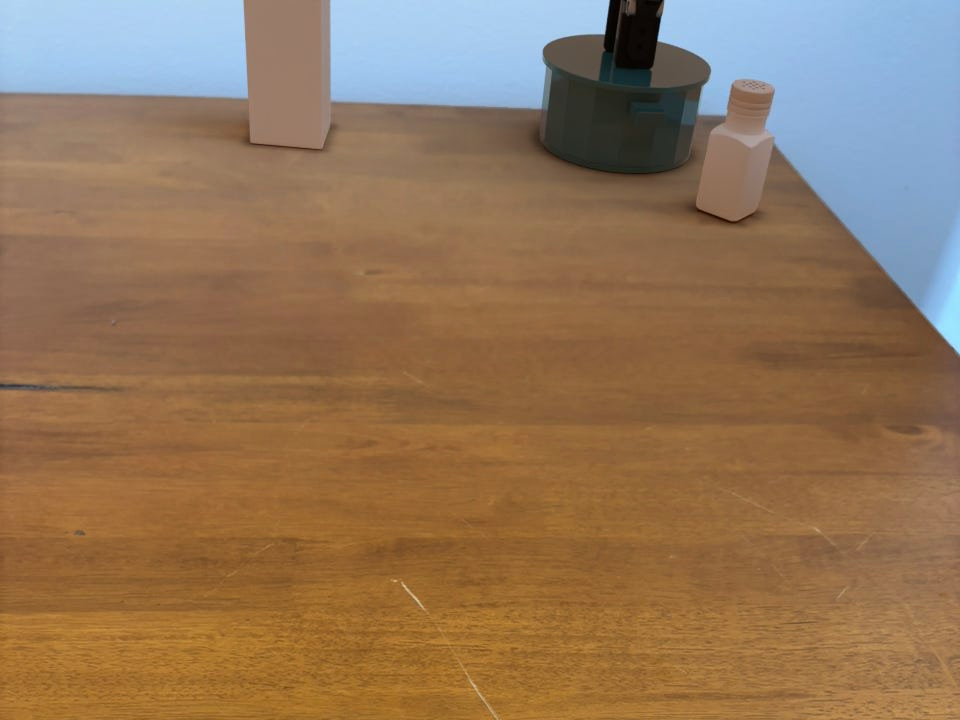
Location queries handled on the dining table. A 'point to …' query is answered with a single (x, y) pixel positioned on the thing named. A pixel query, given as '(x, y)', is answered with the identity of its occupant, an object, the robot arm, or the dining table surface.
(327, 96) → the milk
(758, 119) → the pepper shaker
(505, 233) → the dining table surface
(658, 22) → the robot arm
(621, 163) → the pot
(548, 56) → the lid
